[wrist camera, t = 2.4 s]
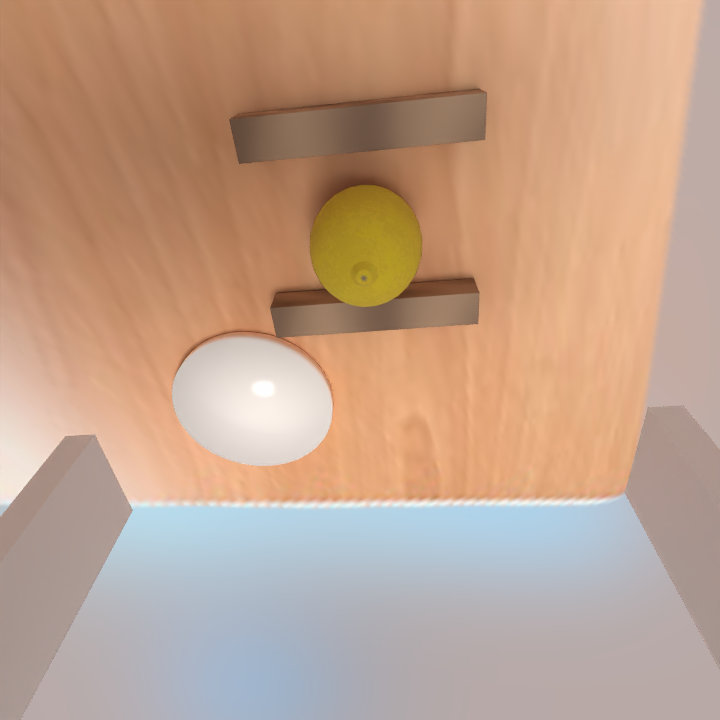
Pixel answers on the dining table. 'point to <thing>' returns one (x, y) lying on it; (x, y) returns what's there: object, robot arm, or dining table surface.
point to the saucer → (253, 399)
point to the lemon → (365, 245)
